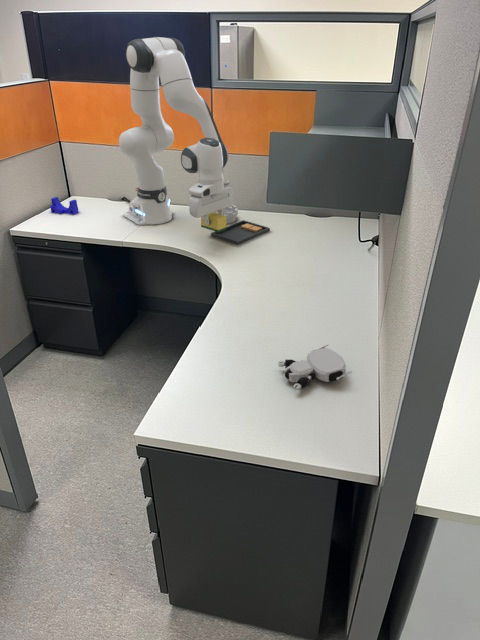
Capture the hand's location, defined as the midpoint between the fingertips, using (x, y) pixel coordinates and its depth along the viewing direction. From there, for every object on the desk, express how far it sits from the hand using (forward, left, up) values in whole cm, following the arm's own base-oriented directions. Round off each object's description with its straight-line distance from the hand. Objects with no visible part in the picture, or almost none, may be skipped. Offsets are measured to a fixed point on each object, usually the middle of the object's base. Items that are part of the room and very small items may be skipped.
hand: (213, 222), depth 188 cm
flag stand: (-17, +23, -10) cm, 30 cm away
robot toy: (+76, -43, -10) cm, 88 cm away
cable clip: (-80, -16, -10) cm, 82 cm away
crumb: (+2, +22, -9) cm, 24 cm away
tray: (0, +15, -10) cm, 18 cm away
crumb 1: (-2, +22, -9) cm, 24 cm away
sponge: (0, 0, -2) cm, 2 cm away
